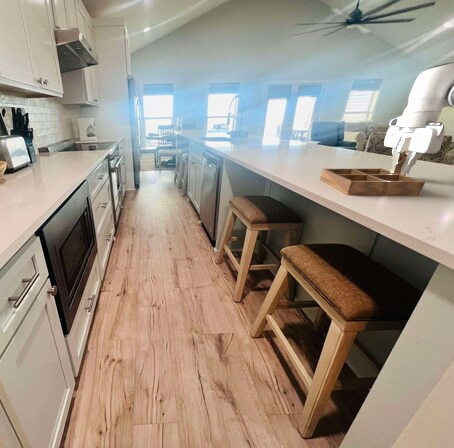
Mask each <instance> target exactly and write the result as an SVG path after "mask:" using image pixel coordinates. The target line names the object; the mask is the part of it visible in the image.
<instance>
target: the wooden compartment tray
mask: <svg viewBox="0 0 454 448" xmlns="http://www.w3.org/2000/svg"><path fill="white" fill-rule="evenodd" d="M320 181H322V182H323V183H325V184H327V185H328V186H331V187H332V188H334V189H335V190H337V191H340V192H341V193H343V194H345V195H346V196H400V197H401V196H404V197H405V196H407V197H408V196H409V197H411V196H413V197H415V196H416V197H419V196H420V195H421V193H422V190H423V188H424V186H425V183H426V181H424V180H420V179H417V178H414V177H411V176H409V177H408V176H404V175H401V174H398V173H395V172H391V171H390V170H388V169H384V168H382V167H381V168H380V167H379V168H376V167H375V168H374V167H373V168H372V167H371V168H322V171H321V174H320Z"/></svg>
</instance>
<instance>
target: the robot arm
mask: <svg viewBox="0 0 454 448" xmlns="http://www.w3.org/2000/svg"><path fill="white" fill-rule="evenodd" d="M407 99H408V101H407V105H406V107H405V108H404V110H403V112H402V115H400V116H397V117H395V118H392V119H391V120H390V121H389V124H388V126H389V128H388V129H387V131H386V134H385V137H384V139H383V140H384V141H383V145H384V147H387V148H392V149H391V154H392V155H393V152H394V149H395V146H396V144H397V142H398V140H399V137H400V136H402V137H407V138H413V139H411V142H410V145H409V148H408V150H409V151H413V153H412V155H413V156H412V157H411V158H410V159H408V160H407V162H406V164H407V165H413V166H415V165H416V163H417V161H418V160H419V159H420V158H421V157H422V156H423V155H424V154H436V153H438V152H439V151H440V149H441V147H442V143H443V141H444V136H445V128H446V126H445V125H444V123H443V122H442V121H439V118H440V116H441V113H442V111H443V109H444V108H448V107H450V108H452V109H454V61H453V62H451V61H450V62H445V63H441V64H437V65H434V66H430V67H428V68H426V69H424V70H423V71H422V72H420V73H419V74H418V76H417V77H416V78H415V81H414V83H413V85H412V87H411V90H410V92H409V95H408V98H407Z"/></svg>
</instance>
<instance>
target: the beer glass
mask: <svg viewBox="0 0 454 448" xmlns="http://www.w3.org/2000/svg"><path fill="white" fill-rule="evenodd" d="M411 139H413V138H407V137H402V136H400V137H399V140H398V142H397V144H396V146H395V149H394V152H393V154H392V157H391V165H390V169H389V171H391V172H395V173H398V174H401V175H404V176H408V177H410V172H411V170H412V169H413V166H414V165H407V164H406V162H407V160H408V159H410V158H411V157H412V156H413V155H412V153H413V151H409V150H408V148H409V145H410V142H411Z"/></svg>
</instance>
